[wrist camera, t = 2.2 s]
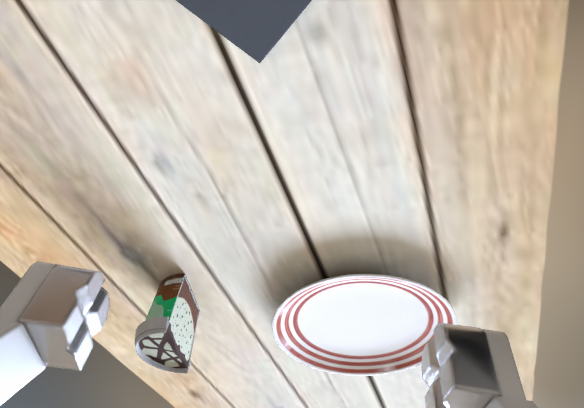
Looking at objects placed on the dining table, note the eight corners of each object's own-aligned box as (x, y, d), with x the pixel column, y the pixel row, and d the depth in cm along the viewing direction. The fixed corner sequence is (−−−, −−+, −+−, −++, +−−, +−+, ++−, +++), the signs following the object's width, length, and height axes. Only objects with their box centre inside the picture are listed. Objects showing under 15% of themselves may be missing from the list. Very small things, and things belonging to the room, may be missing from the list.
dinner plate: (259, 264, 63) (256, 283, 60) (464, 255, 59) (470, 275, 57) (286, 359, 81) (285, 377, 79) (443, 356, 78) (446, 375, 76)
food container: (140, 267, 65) (117, 330, 57) (182, 267, 64) (164, 330, 57) (164, 315, 73) (147, 374, 66) (201, 315, 72) (188, 375, 65)
